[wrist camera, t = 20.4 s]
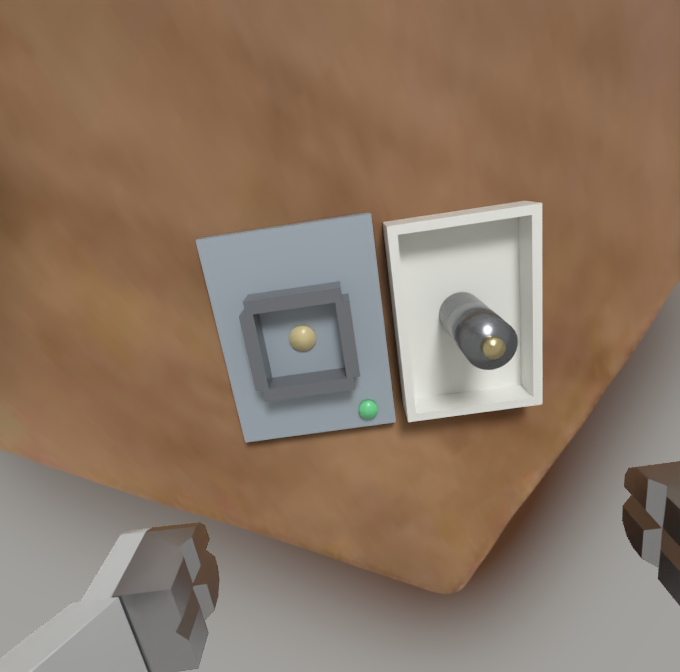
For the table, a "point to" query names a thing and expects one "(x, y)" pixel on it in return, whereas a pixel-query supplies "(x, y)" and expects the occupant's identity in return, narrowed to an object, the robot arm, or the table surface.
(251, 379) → the tester cradle
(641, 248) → the table surface
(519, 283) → the tray
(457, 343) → the cell
